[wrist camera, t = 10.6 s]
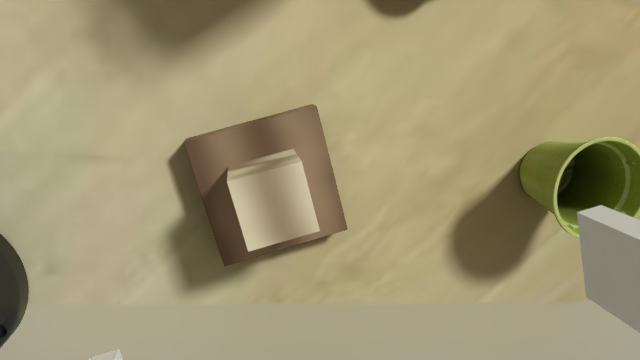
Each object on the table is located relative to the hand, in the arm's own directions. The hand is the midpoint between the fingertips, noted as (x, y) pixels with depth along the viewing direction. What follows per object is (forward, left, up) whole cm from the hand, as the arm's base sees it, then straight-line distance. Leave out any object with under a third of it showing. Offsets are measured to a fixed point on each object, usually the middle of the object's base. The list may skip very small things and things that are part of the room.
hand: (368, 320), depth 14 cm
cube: (-2, -4, -32) cm, 32 cm away
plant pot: (+26, -11, -35) cm, 45 cm away
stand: (-2, -4, -34) cm, 35 cm away
